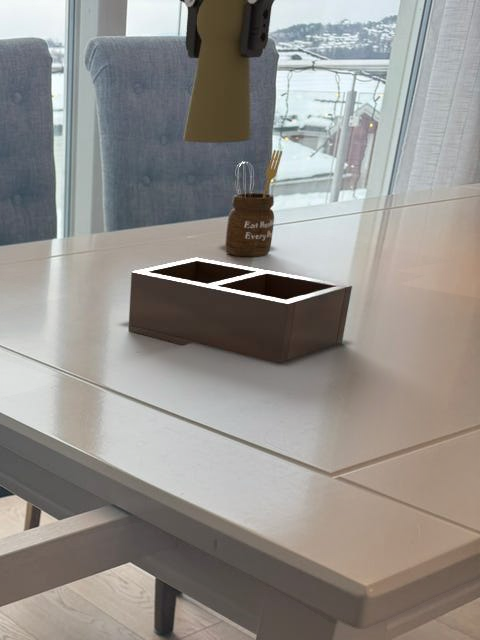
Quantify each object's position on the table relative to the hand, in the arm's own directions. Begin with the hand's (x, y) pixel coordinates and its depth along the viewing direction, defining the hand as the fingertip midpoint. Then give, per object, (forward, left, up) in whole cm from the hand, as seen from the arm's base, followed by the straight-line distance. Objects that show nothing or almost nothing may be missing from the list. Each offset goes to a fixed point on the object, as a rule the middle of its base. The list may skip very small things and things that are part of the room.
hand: (223, 56), depth 82 cm
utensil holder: (-33, -19, -23) cm, 44 cm away
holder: (+2, +6, -23) cm, 24 cm away
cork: (0, 0, -7) cm, 7 cm away
